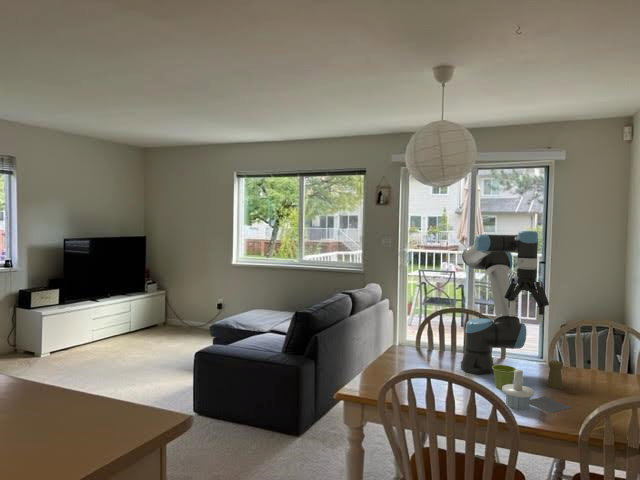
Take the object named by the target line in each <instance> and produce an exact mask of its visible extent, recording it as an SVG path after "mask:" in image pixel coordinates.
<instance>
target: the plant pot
mask: <svg viewBox="0 0 640 480" xmlns="http://www.w3.org/2000/svg"><path fill="white" fill-rule="evenodd" d="M492 369H493V372H494V373H493V374H494V383H495V388H496V389H498V390H500V391H502V386H504V385H507V384H514V370H517V368H516V367H513V366H511V365H506V364H494V366H492Z"/></svg>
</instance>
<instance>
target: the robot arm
mask: <svg viewBox="0 0 640 480" xmlns="http://www.w3.org/2000/svg"><path fill="white" fill-rule="evenodd" d="M538 235H539V234H538V232H537V231H536V230H534V231H533V230H520V231H518V233H517V234H487V233H485V234H476V236H475V239H474V244H473V245H471V246H470V245H469V246H468V247H466V248H465V249H464V250H463V251H462V255H461V257H462V258H461V259H462V262H463V263H464V265H466V266H467V267H469V268H471V269H474V270H483V271H485V274H486V275H487V276H488V277H489V280H490V281H489V283H490V289H491V293H492V300H493V306H494V313H495V318H494V320H492V319H490V318H474V319H473V318H472V319H469V320H468V321H467V322H466V323H465V330H464V332H465V337H464V338H465V341H464V342H465V343H464V353H463V357H462V360H461V361H460V368H461V370H462V371H464V372H467V373H470V374H476V375H489V374H494V372H493V369H492V366H494V365H495V363H494V359H493V357H492V356H493V355H492V349H511V350H514V349H517V350H518V349H521V348H523V347H524V346H525V344H526V340H527V327H526V324H525V323H522V322H521V320H520V318H519V317H518V316H517V315H516V298H517V297H518V295H519V294H520V293H521V292H522V291H525V292H529V293H530V294H531V295H532V297H533V299H534V301H535V303H536V304H537V305H536V313H535V316H536V317H535V323H537V324H540V323H543V315H545V307H547V306H549V305H550V303H549V300H548V298H547V295H546V291H545V290H544V289H545V288H544V283H543V281H536V278H537V276H538V275H537V273H538V271H537V268H538V250H539V249H538V246H539V244H538V243H539V236H538ZM512 253H517V258H516V259H517V262H516V264H517V265H516V267H517V268H516V277H512V278H511V279H510V280H509V276H508V274H509V273H510V271H511V270H512V269H513V265H514V262H513V255H512Z"/></svg>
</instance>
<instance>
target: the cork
mask: <svg viewBox="0 0 640 480" xmlns="http://www.w3.org/2000/svg"><path fill="white" fill-rule="evenodd" d="M548 367H549V373H548V377H547V378H548V379H547V383H546V385H547V386H548V387H549V388H553V389H561V390H563V389H564V387H563V385H564V384H563V378H562V377H563V375H562V369H563V362H562V361H559V360H555V359H553V360H550V361H549V362H548Z"/></svg>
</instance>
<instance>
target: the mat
mask: <svg viewBox="0 0 640 480" xmlns="http://www.w3.org/2000/svg"><path fill="white" fill-rule="evenodd" d="M530 406H532V407H535V408H537V409H540V410H542V411H543V412H546V413H549V414H552V413H556V412H561V411H565V410H568V409H573V407H571V406H569V405H566V404H564V403H562V402H559V401H556V400H554V399H551V398H549V397H546V396H541V397H536V398H532V399H531V398H530Z"/></svg>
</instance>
